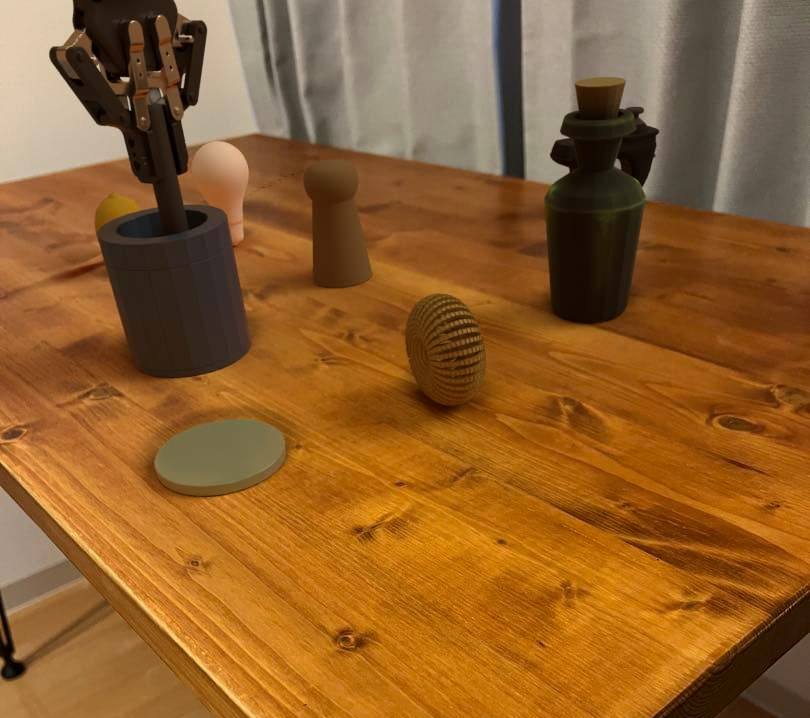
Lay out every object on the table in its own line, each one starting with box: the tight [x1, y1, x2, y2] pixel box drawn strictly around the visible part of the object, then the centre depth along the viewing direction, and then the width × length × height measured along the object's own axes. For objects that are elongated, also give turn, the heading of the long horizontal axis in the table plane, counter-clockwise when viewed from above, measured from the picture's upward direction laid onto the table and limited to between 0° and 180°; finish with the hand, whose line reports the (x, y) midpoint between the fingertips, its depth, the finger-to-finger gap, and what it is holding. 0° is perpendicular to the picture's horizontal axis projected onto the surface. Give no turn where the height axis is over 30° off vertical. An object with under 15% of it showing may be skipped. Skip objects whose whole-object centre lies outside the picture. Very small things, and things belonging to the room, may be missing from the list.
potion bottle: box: [543, 76, 647, 323], centre depth 72 cm, size 8×8×18 cm
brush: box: [147, 104, 189, 236], centre depth 69 cm, size 4×4×17 cm
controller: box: [549, 106, 660, 188], centre depth 97 cm, size 4×12×10 cm, turn 110°
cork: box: [302, 158, 373, 289], centre depth 85 cm, size 6×6×11 cm
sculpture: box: [404, 292, 487, 407], centre depth 63 cm, size 8×4×8 cm, turn 24°
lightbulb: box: [190, 140, 250, 247], centre depth 96 cm, size 6×6×11 cm
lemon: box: [94, 191, 142, 243], centre depth 93 cm, size 6×6×8 cm
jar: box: [96, 203, 252, 378], centre depth 73 cm, size 10×10×11 cm
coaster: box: [153, 418, 288, 497], centre depth 60 cm, size 9×9×1 cm
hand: (163, 177), depth 67 cm, fingers closed on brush, 2 cm apart
